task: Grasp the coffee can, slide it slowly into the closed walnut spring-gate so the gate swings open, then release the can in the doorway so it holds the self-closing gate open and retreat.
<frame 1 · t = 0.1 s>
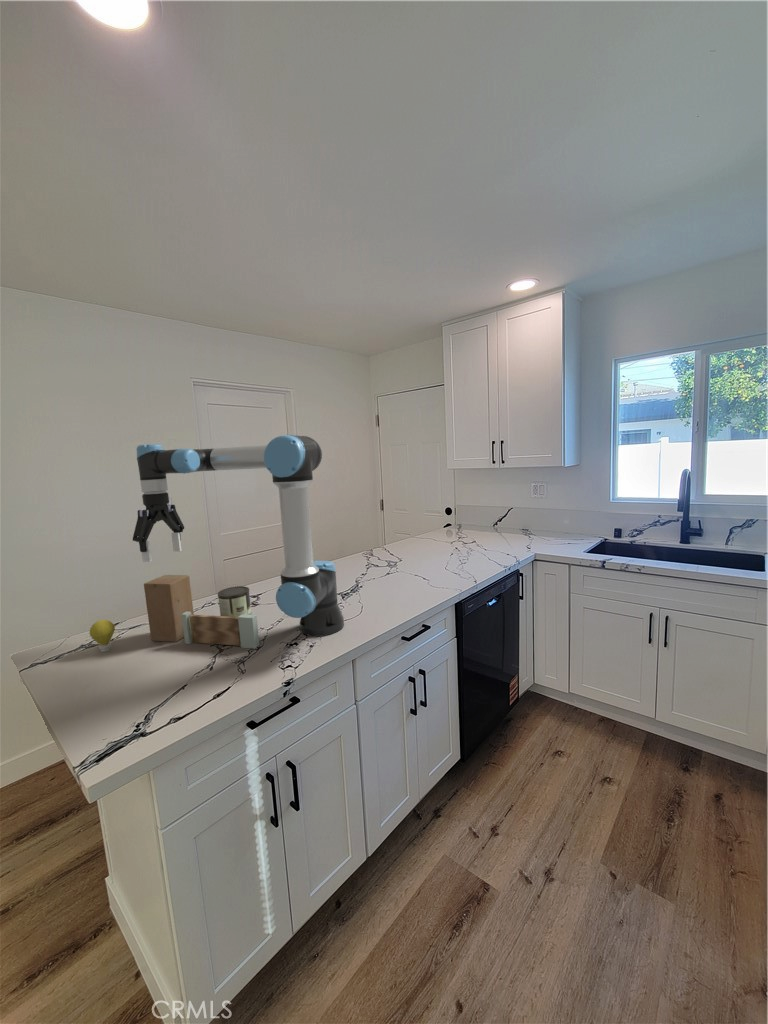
hand: (163, 556, 139), 28 cm above the countertop, fingers open, 13 cm apart
wooden block: (174, 635, 144), on the countertop
gate: (215, 629, 135), point 5 cm above the countertop, hinge at 0.0°
light bulb: (105, 650, 135), on the countertop
gate frame: (194, 642, 137), on the countertop
coffee can: (237, 630, 146), on the countertop
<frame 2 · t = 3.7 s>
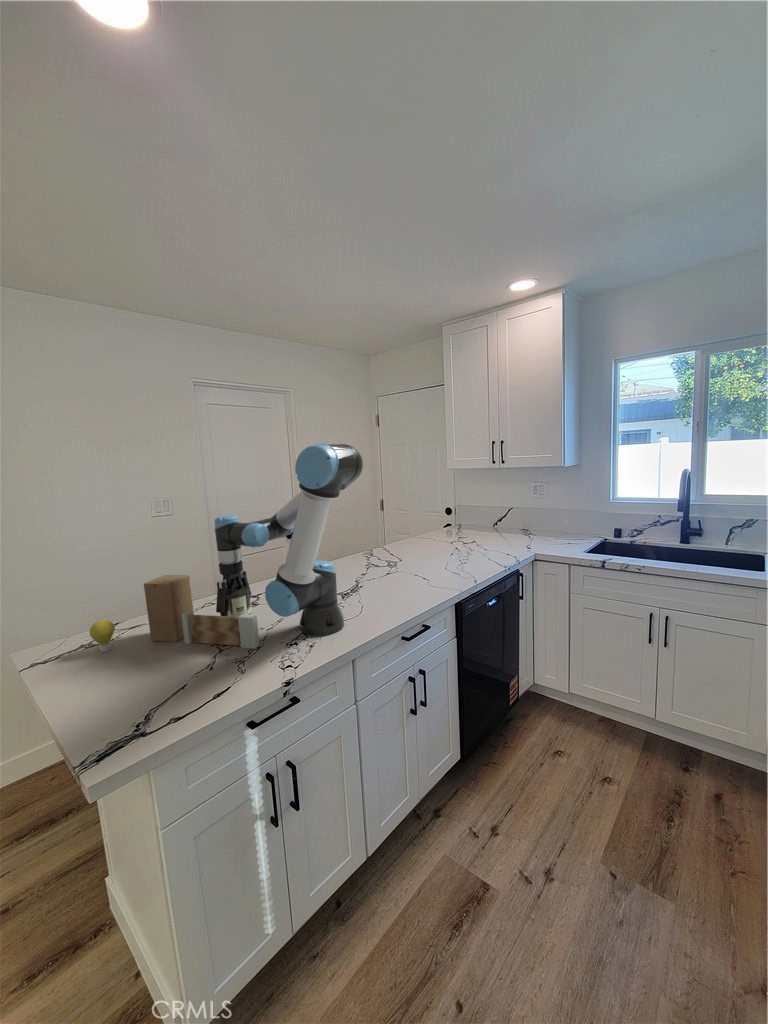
hand: (236, 623, 145), 2 cm above the countertop, fingers closed on coffee can, 10 cm apart
coffee can: (237, 630, 146), on the countertop, touching gripper
everything else where it was.
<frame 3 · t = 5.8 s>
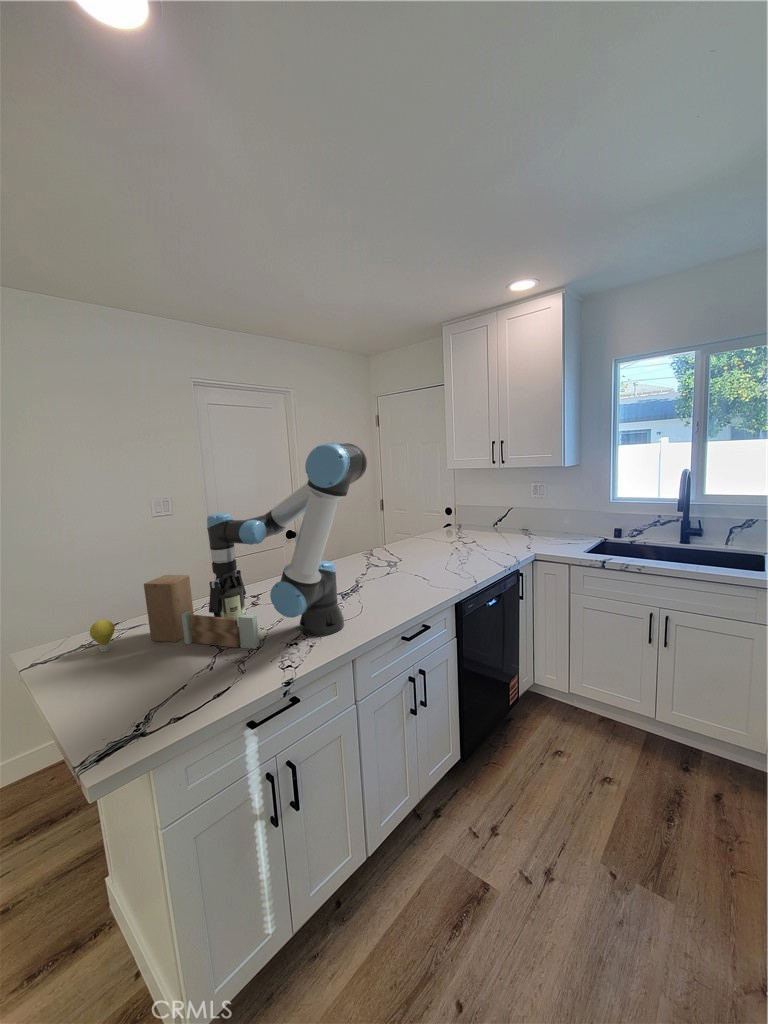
hand: (231, 623, 142), 4 cm above the countertop, fingers closed on coffee can, 10 cm apart
gate: (213, 630, 134), point 5 cm above the countertop, hinge at 4.7°, touching gripper
coffee can: (231, 630, 142), point 1 cm above the countertop, touching gripper
everything else where it was.
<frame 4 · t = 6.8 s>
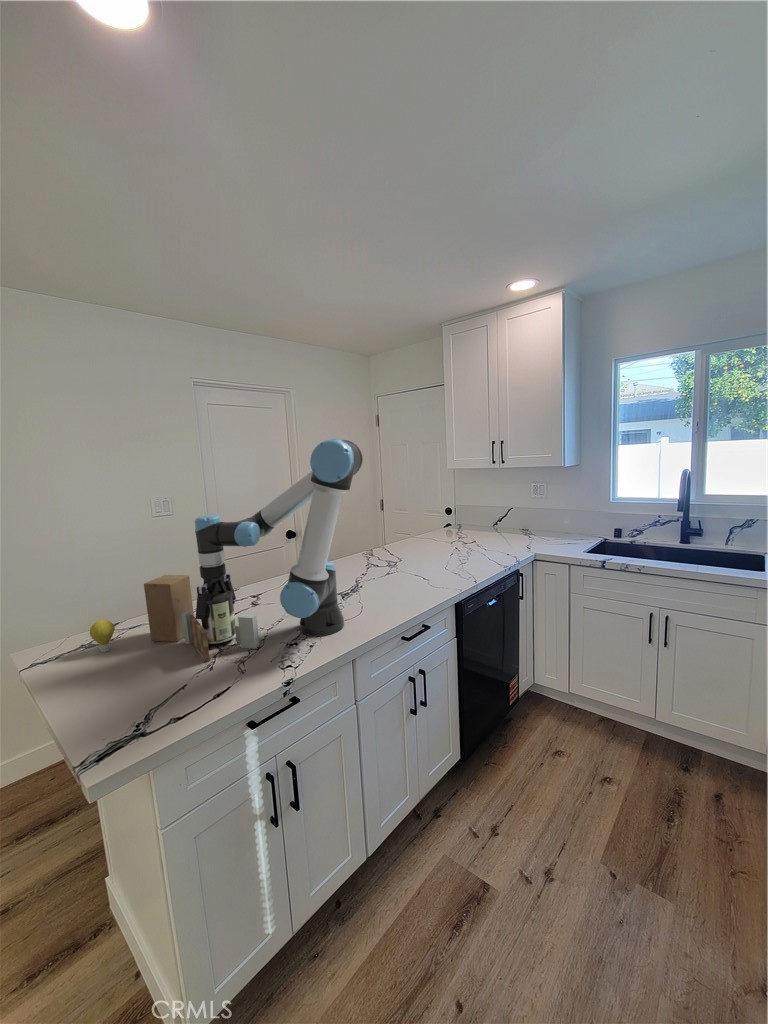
hand: (219, 630, 137), 4 cm above the countertop, fingers closed on coffee can, 10 cm apart
gate: (198, 636, 130), point 5 cm above the countertop, hinge at 40.1°, touching gripper
coffee can: (220, 637, 137), point 1 cm above the countertop, touching gripper
everything else where it was.
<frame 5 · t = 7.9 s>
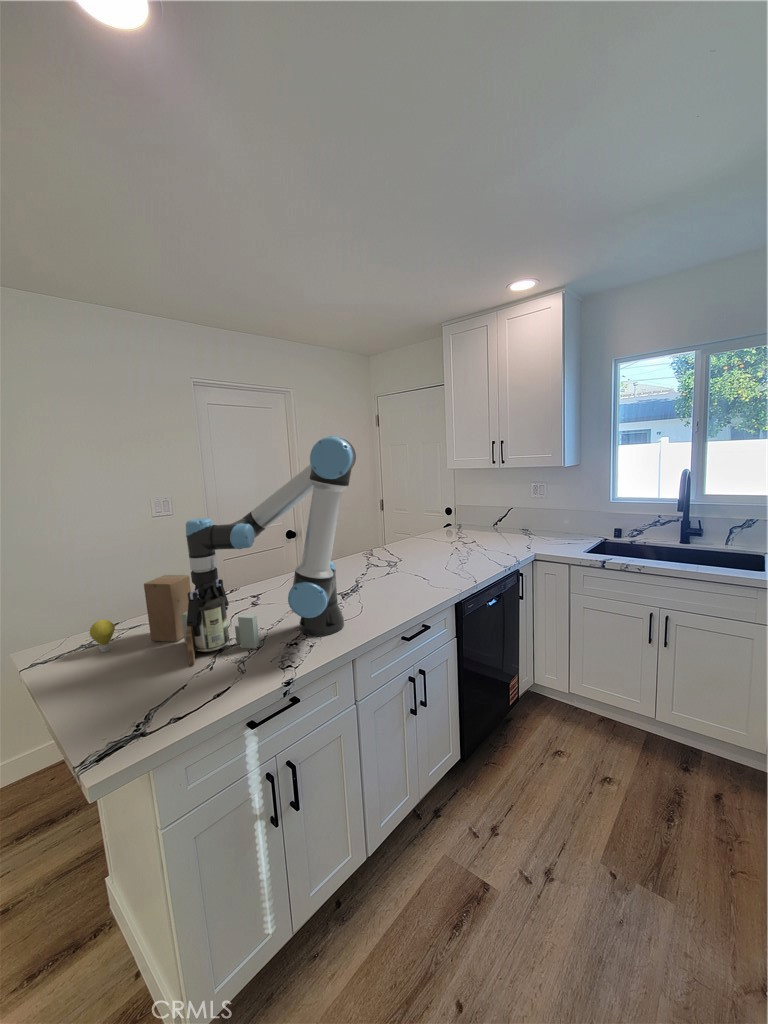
hand: (211, 637, 132), 4 cm above the countertop, fingers closed on coffee can, 10 cm apart
gate: (191, 638, 129), point 5 cm above the countertop, hinge at 54.3°
coffee can: (212, 644, 132), point 1 cm above the countertop, touching gripper
everything else where it was.
when the fingers open (3 cm above the countertop, at t = 9.3 s): coffee can drops 1 cm, on the countertop.
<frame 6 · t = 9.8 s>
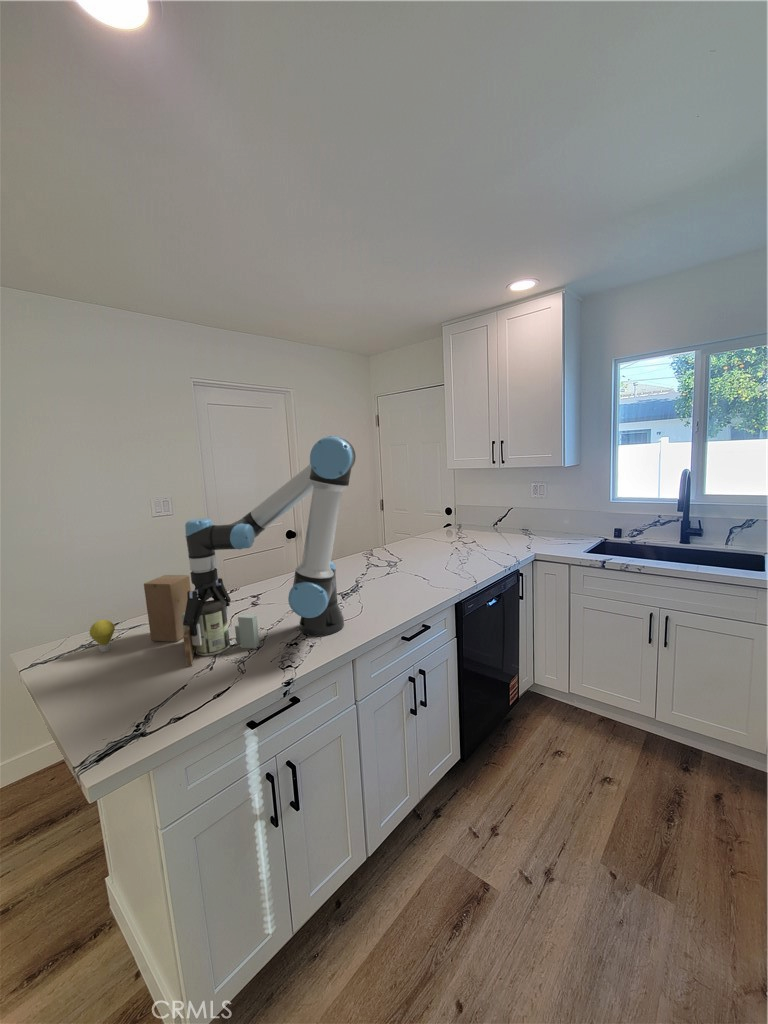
hand: (211, 635, 132), 4 cm above the countertop, fingers open, 13 cm apart
gate: (190, 638, 129), point 5 cm above the countertop, hinge at 56.6°, touching gripper
coffee can: (213, 648, 132), on the countertop
everything else where it was.
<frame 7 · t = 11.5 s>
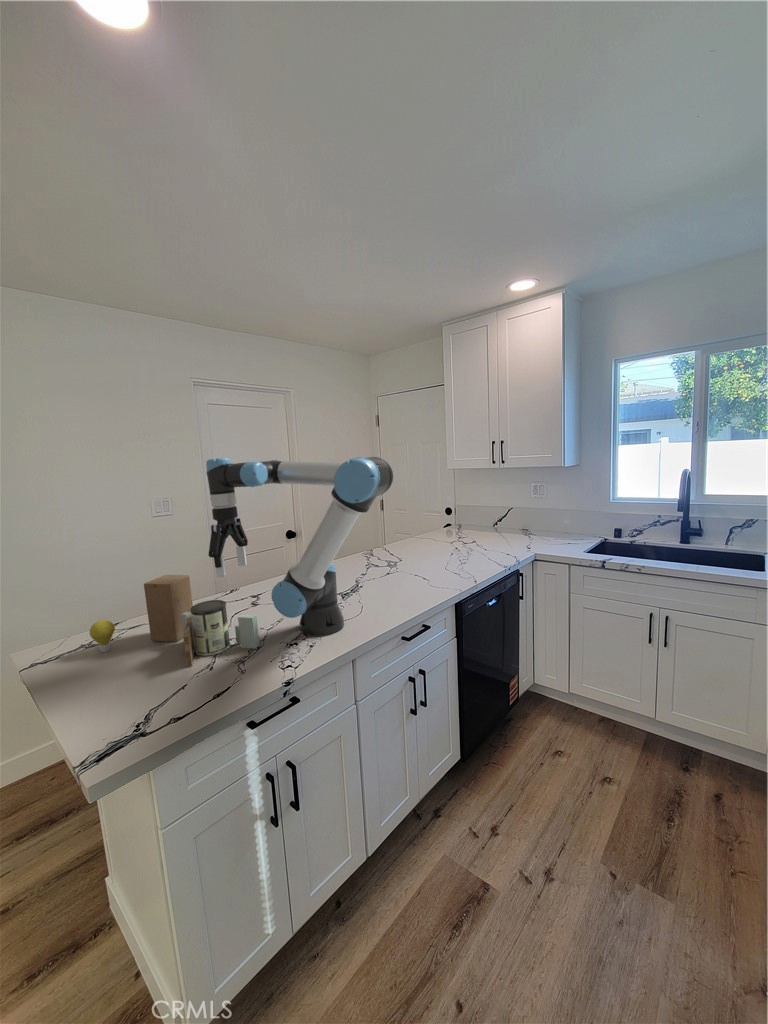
hand: (232, 571, 137), 22 cm above the countertop, fingers open, 13 cm apart
gate: (190, 638, 129), point 5 cm above the countertop, hinge at 56.6°
everything else where it was.
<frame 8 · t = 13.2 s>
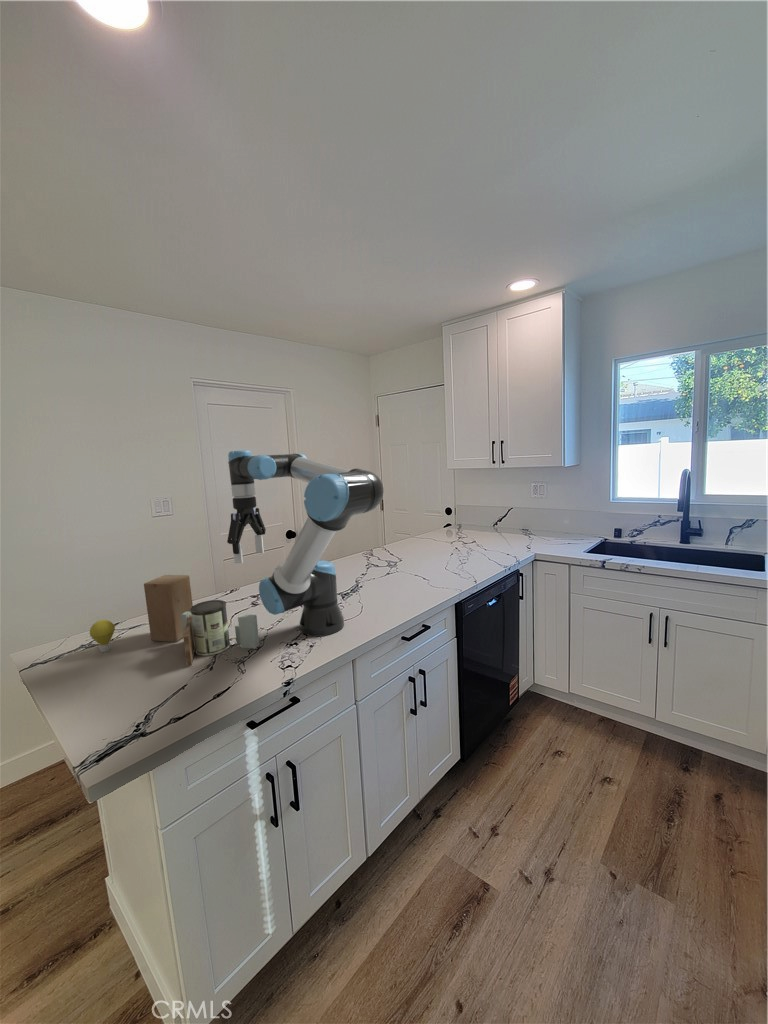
hand: (249, 557, 145), 25 cm above the countertop, fingers open, 13 cm apart
nothing on the countertop moved.
at the end: gate at +57° (first picture: +0°); coffee can inside the target area (0.7 cm from its centre), on the countertop; coffee can tilted 0° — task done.
